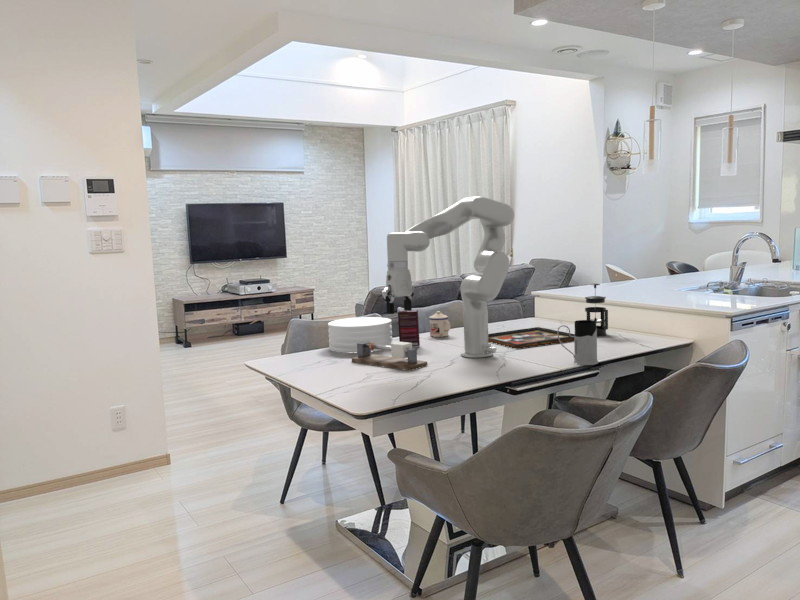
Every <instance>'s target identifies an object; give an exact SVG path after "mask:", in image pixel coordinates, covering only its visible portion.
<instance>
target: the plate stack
mask: <svg viewBox="0 0 800 600" xmlns="http://www.w3.org/2000/svg"><path fill="white" fill-rule="evenodd" d="M392 321H393V320H392V319H391V318H388V317H379V316H363V317H362V316H360V317H359V316H358V317H348V318H346V317H345V318H341V319H335V320H332V321H329V322H328V323H327V326H328V329H327V332H328V339H329V340H328V344H329V346H328V348H329V351H331V350H332V352H334V351H336V352H335V353H340V352H353V353H352V354H355V353H354V352H357V343H360V342H370V343H374V344H375V345H383V346H391V344H392V343H393V336H392V335H393V331H392V328H393V325H392ZM378 350H381V349H374V350H371V351H375V352H379V351H378ZM381 351H382V350H381Z"/></svg>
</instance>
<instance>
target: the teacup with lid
mask: <svg viewBox="0 0 800 600" xmlns="http://www.w3.org/2000/svg"><path fill="white" fill-rule="evenodd" d="M428 320H429V335H430V337H432V336H433V338H445V337H448V336H449V332H450V330H451V323H450V322H449V316H448V315H446V314H443V313H442V312H441V311H440V310H438V311H436V312H435V313H434V314H432V315H430V316H429V318H428ZM444 336H445V337H444Z"/></svg>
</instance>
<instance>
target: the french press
mask: <svg viewBox="0 0 800 600" xmlns="http://www.w3.org/2000/svg"><path fill="white" fill-rule="evenodd" d="M590 286H593V288H594V295H590V296H585V297H584V299H585V303H587V304H594V306H589V307H585V308H584V312H585V313H586V320H593V321H596V324H600V325H596V327H597V337H605V336H607V330H609V310H608V309H607V308H606V307H602V306H597V304H602V303H605V301H606V298H607V297H606V296H601V295H596V291H597V286H601V284H599V283H591V284H590ZM591 313H594V318H592V319H591ZM597 313H600V319H599V318H597Z"/></svg>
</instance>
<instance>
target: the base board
mask: <svg viewBox="0 0 800 600" xmlns="http://www.w3.org/2000/svg"><path fill="white" fill-rule="evenodd" d="M351 362H352V363H355V362H357V363H356V364H362V363H364V364H363V365H369V364H371V365H370V366H375V365H377V367H382V366H384V367H383V368H389V367H390V368H391V369H395V368H397V369H398V370H402V369H405V370H404V371H409V370H411V371H413V370H412V369H414V370H417V369H420V368H419V367H421V368H423V367H422V366H424V367H427V366H428V361H426V360H419V359H417V363H414V364H408V358H396V357H392V356H388V355H381V354H374V353H371V356H368V357H364V358H361V357H358V356H355V357H351ZM426 365H427V366H426ZM416 368H417V369H416Z"/></svg>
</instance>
